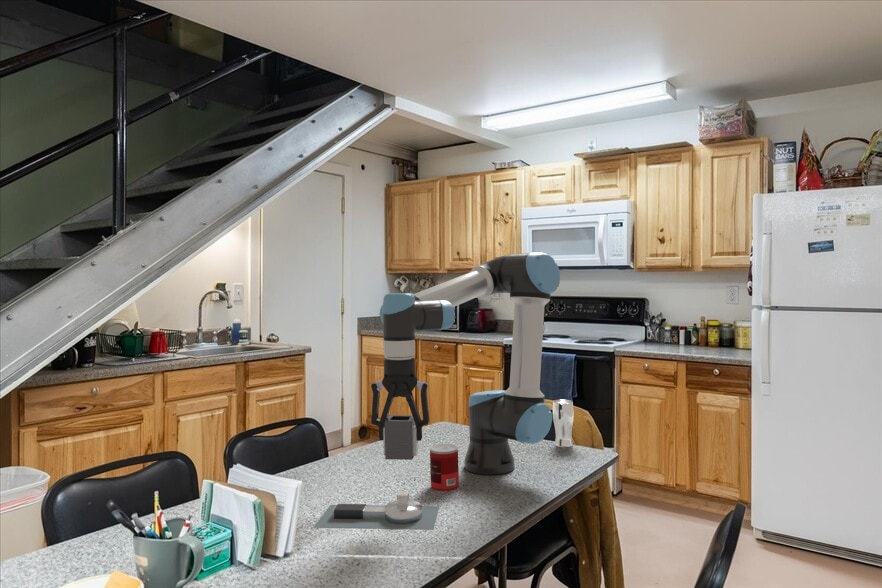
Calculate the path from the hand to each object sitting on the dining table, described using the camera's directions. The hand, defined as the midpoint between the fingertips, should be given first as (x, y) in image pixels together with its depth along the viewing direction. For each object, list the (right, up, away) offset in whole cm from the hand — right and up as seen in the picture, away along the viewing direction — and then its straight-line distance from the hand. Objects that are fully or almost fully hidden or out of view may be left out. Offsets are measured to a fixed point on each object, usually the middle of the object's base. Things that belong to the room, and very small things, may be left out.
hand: (400, 453), depth 142 cm
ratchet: (-6, -15, +1) cm, 16 cm away
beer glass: (+52, -14, +61) cm, 81 cm away
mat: (-5, -16, +1) cm, 17 cm away
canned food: (+11, -15, +22) cm, 28 cm away
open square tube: (0, 0, 0) cm, 0 cm away
